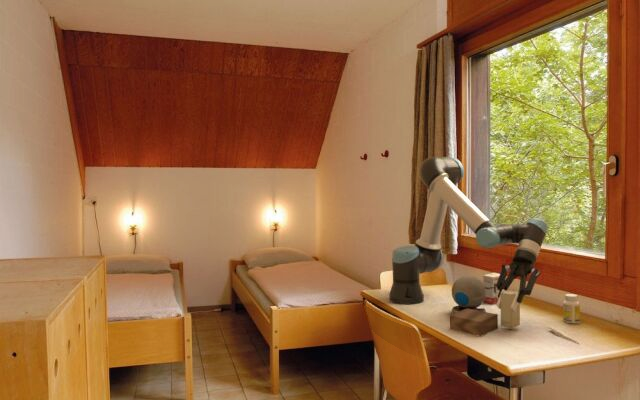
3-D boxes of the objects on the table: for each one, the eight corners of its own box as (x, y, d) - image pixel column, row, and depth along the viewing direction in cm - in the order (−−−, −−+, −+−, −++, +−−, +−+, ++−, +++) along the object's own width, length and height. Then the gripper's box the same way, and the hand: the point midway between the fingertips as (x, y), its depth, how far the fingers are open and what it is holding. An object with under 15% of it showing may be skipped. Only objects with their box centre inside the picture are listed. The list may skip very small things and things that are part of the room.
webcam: (491, 312, 190) (491, 275, 189) (477, 320, 180) (476, 280, 180) (461, 307, 199) (460, 271, 198) (445, 314, 189) (445, 276, 189)
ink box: (492, 304, 202) (492, 276, 201) (482, 302, 206) (482, 275, 205) (505, 301, 206) (505, 274, 206) (495, 299, 210) (495, 272, 210)
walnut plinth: (449, 329, 171) (449, 315, 171) (467, 321, 179) (466, 308, 179) (480, 336, 162) (480, 321, 162) (497, 328, 170) (497, 314, 170)
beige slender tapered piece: (545, 330, 166) (545, 325, 166) (552, 330, 167) (552, 324, 167) (576, 347, 152) (577, 341, 152) (584, 346, 152) (584, 340, 152)
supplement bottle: (578, 319, 177) (578, 293, 177) (581, 324, 172) (581, 297, 172) (562, 318, 179) (562, 293, 179) (564, 323, 174) (564, 296, 174)
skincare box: (512, 329, 165) (512, 294, 164) (499, 326, 168) (499, 292, 167) (520, 325, 169) (520, 291, 168) (508, 322, 172) (508, 289, 172)
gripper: (553, 263, 172) (534, 319, 161) (506, 258, 185) (486, 309, 174) (547, 250, 168) (527, 306, 158) (500, 246, 181) (478, 297, 170)
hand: (505, 308), depth 166 cm, fingers closed on skincare box, 4 cm apart
